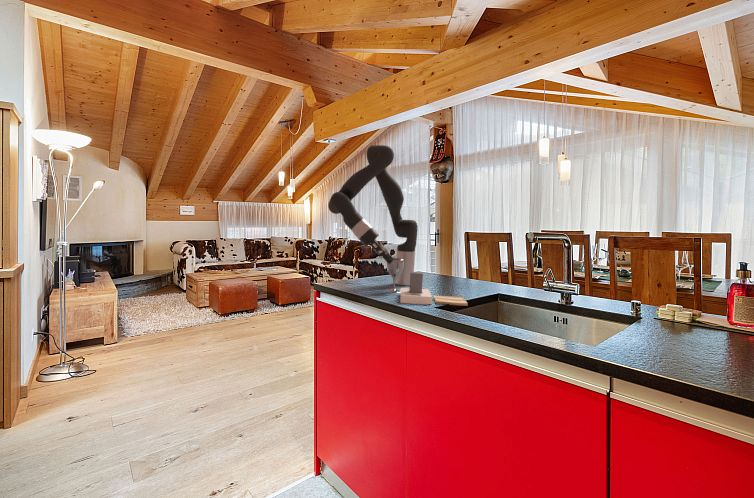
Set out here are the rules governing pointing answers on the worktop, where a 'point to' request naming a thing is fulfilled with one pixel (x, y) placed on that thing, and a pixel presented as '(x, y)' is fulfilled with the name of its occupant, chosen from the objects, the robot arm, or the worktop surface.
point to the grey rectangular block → (415, 282)
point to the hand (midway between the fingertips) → (391, 261)
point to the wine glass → (395, 271)
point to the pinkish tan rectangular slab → (416, 297)
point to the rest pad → (450, 300)
